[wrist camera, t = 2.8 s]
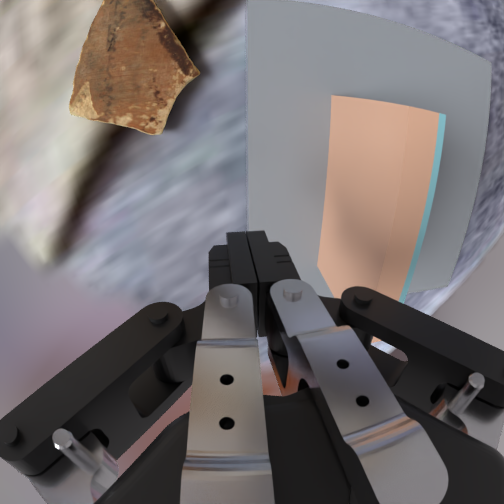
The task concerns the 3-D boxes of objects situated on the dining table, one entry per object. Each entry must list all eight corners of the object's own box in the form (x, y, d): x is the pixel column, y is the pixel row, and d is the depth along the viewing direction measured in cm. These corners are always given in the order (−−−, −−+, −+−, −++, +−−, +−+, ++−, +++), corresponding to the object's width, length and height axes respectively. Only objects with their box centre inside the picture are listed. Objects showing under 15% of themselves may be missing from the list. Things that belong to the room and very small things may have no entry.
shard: (128, -33, 11) (121, -43, 9) (239, -12, 13) (242, -21, 11) (72, 112, 16) (60, 115, 14) (178, 137, 18) (174, 141, 16)
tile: (331, 95, 16) (409, 105, 9) (360, 98, 16) (446, 114, 9) (316, 265, 22) (359, 345, 15) (341, 263, 22) (389, 338, 15)
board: (245, 3, 13) (247, -2, 12) (481, 61, 15) (491, 62, 14) (247, 303, 24) (249, 313, 23) (441, 279, 27) (447, 286, 26)
